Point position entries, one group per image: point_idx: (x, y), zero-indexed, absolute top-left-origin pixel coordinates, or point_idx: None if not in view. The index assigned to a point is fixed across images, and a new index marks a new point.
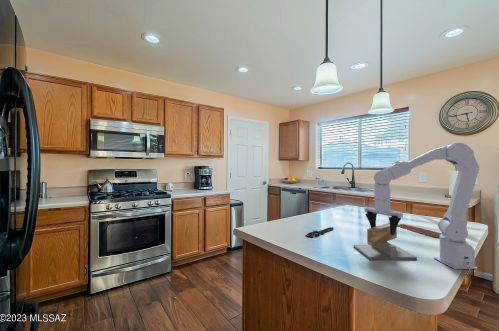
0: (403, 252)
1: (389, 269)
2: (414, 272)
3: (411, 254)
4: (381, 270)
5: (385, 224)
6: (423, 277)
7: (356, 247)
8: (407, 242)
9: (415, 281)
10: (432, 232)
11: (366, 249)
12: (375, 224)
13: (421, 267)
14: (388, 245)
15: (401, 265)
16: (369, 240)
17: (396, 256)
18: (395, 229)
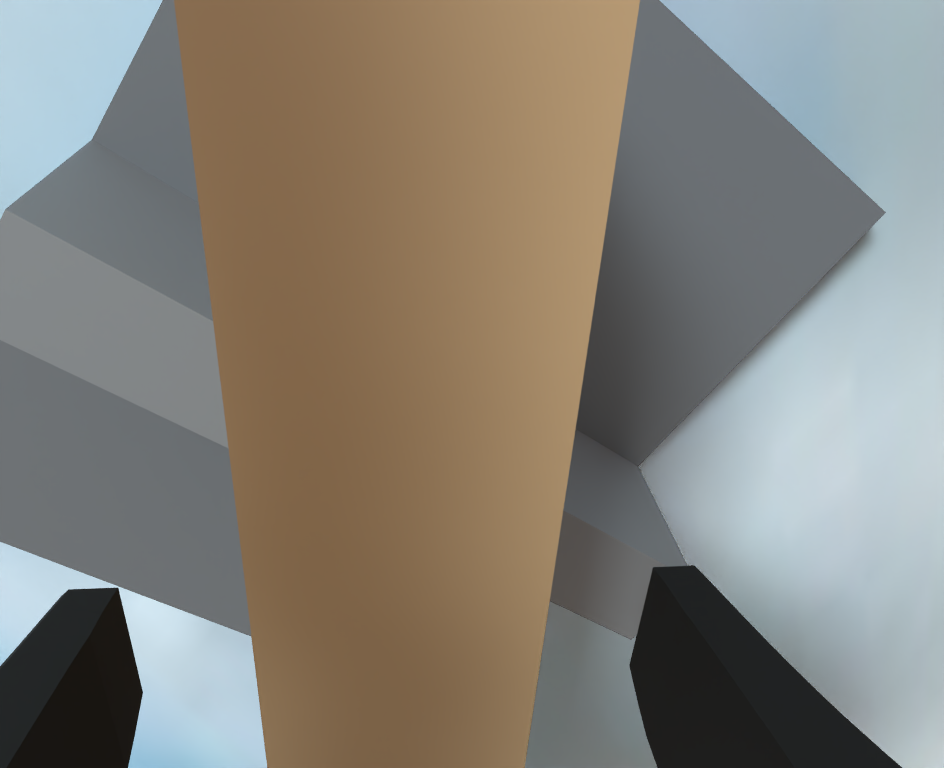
0: (673, 168)
1: None
2: (855, 591)
3: (803, 156)
4: (605, 756)
5: (303, 512)
6: (928, 621)
7: (36, 549)
8: None
9: (871, 719)
10: None
11: (200, 523)
12: (43, 734)
13: (916, 424)
14: (583, 614)
15: (721, 541)
16: None
17: (635, 437)
18: (779, 673)
